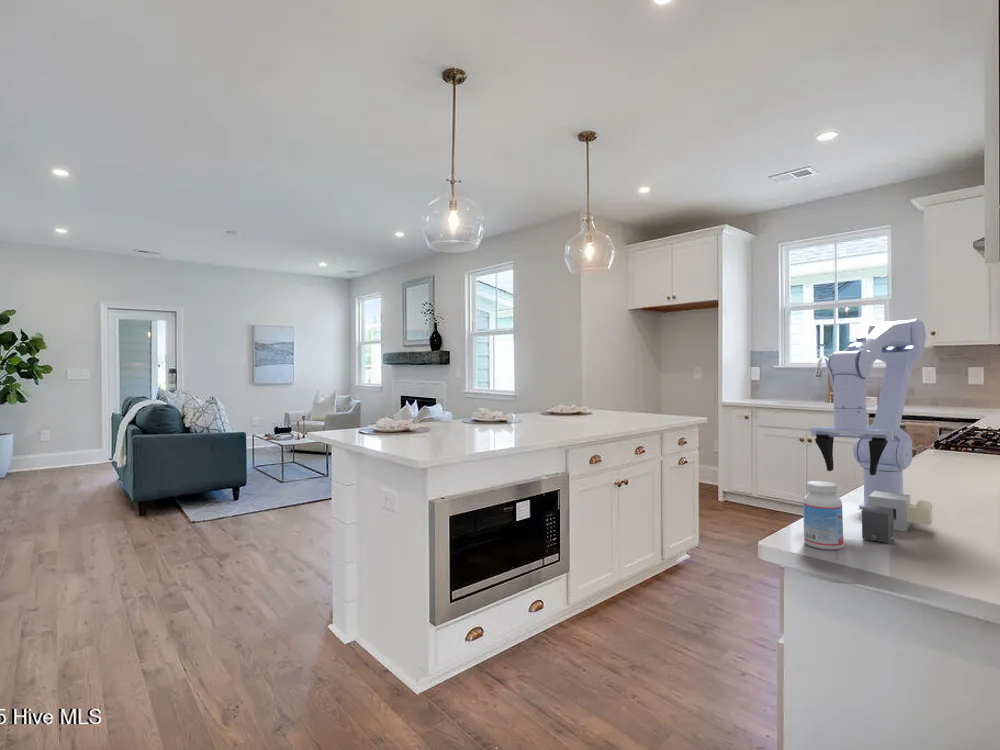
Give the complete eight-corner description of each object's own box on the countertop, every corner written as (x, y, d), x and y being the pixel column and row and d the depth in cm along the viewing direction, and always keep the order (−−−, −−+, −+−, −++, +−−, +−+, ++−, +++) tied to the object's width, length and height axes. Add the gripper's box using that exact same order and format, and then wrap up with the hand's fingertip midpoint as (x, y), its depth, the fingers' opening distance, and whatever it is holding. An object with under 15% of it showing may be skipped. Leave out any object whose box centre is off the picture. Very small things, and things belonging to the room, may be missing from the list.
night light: (909, 518, 106) (909, 496, 106) (933, 522, 104) (933, 499, 104) (907, 522, 104) (906, 499, 104) (931, 525, 101) (931, 502, 101)
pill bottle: (849, 551, 93) (848, 487, 93) (811, 550, 94) (809, 486, 94) (834, 540, 99) (833, 480, 99) (799, 539, 100) (797, 479, 100)
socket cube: (875, 519, 112) (874, 490, 112) (910, 524, 107) (910, 494, 107) (868, 525, 107) (868, 495, 107) (906, 531, 103) (905, 500, 103)
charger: (870, 529, 104) (870, 502, 104) (896, 533, 101) (895, 506, 101) (860, 540, 97) (859, 512, 97) (886, 545, 95) (886, 516, 95)
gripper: (805, 408, 114) (807, 471, 114) (888, 410, 104) (889, 479, 104) (815, 405, 119) (816, 466, 119) (894, 407, 109) (896, 474, 109)
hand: (851, 472), depth 112 cm, fingers open, 7 cm apart
